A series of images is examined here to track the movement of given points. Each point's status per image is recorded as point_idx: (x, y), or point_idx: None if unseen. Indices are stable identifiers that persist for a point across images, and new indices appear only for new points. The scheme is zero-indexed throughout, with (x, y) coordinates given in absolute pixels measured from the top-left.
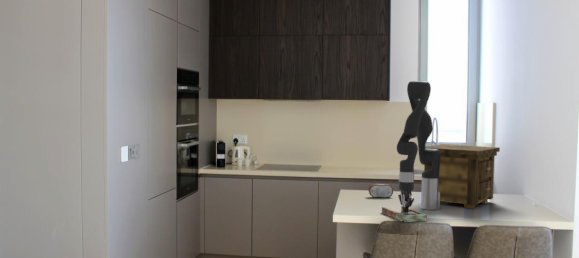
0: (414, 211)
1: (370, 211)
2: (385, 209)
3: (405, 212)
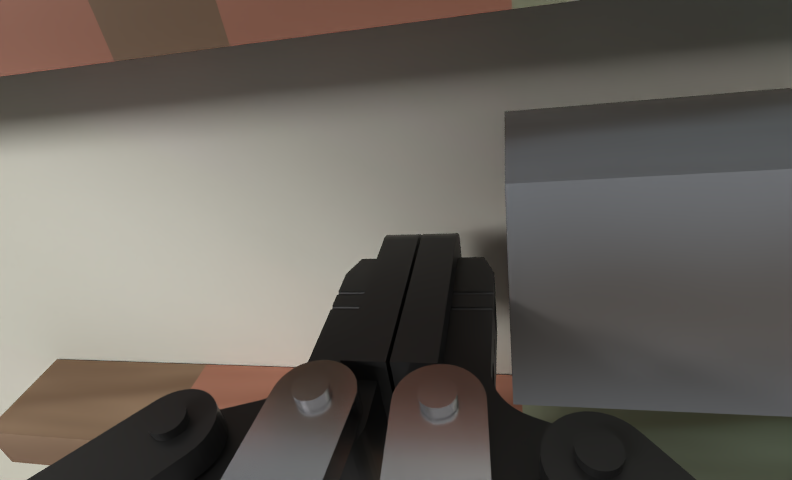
0: (361, 28)
1: None
2: None
3: (561, 381)
